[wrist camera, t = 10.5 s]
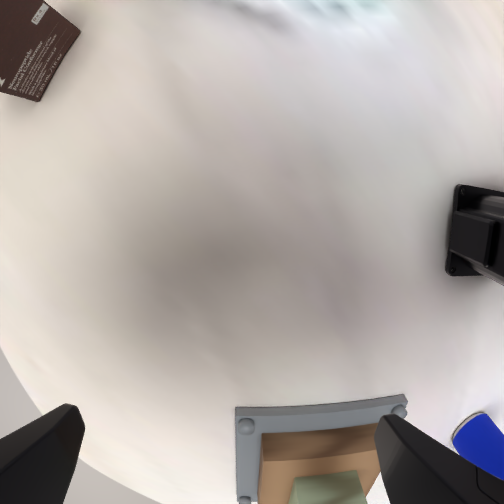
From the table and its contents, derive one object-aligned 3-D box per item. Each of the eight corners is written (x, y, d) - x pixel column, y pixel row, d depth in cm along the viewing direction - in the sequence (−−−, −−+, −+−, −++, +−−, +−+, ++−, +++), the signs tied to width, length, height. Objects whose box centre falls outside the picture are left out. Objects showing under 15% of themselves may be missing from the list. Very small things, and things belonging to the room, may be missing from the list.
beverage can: (448, 429, 24) (509, 525, 9) (485, 402, 23) (553, 487, 9) (451, 449, 25) (502, 534, 11) (485, 424, 25) (542, 502, 10)
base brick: (381, 421, 21) (392, 446, 18) (354, 483, 24) (360, 504, 21) (261, 433, 21) (263, 461, 18) (257, 493, 24) (258, 516, 21)
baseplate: (403, 394, 22) (411, 407, 20) (364, 483, 25) (368, 494, 24) (235, 407, 22) (235, 423, 20) (237, 494, 25) (237, 507, 23)
